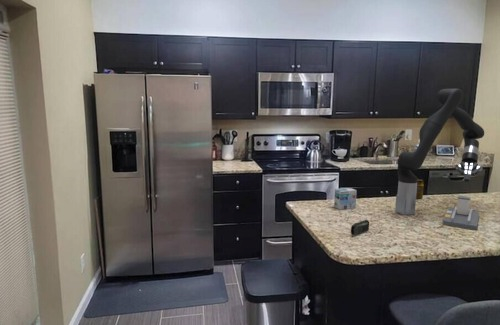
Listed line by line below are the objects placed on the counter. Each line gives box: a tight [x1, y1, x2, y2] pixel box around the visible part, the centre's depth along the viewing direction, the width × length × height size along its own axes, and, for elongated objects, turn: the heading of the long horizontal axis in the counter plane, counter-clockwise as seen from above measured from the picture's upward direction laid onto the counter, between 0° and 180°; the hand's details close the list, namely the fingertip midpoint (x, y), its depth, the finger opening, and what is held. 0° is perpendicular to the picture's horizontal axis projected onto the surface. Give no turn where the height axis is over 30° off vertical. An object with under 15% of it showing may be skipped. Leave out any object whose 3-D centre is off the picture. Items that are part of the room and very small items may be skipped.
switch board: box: [442, 206, 480, 231], centre depth 176 cm, size 28×14×4 cm, turn 145°
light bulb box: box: [333, 187, 357, 211], centre depth 196 cm, size 11×7×11 cm, turn 105°
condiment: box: [416, 178, 425, 201], centre depth 217 cm, size 7×8×12 cm
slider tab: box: [456, 195, 471, 215], centre depth 178 cm, size 4×5×9 cm
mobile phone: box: [350, 219, 370, 238], centre depth 157 cm, size 5×3×15 cm
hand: (466, 180), depth 185 cm, fingers closed
